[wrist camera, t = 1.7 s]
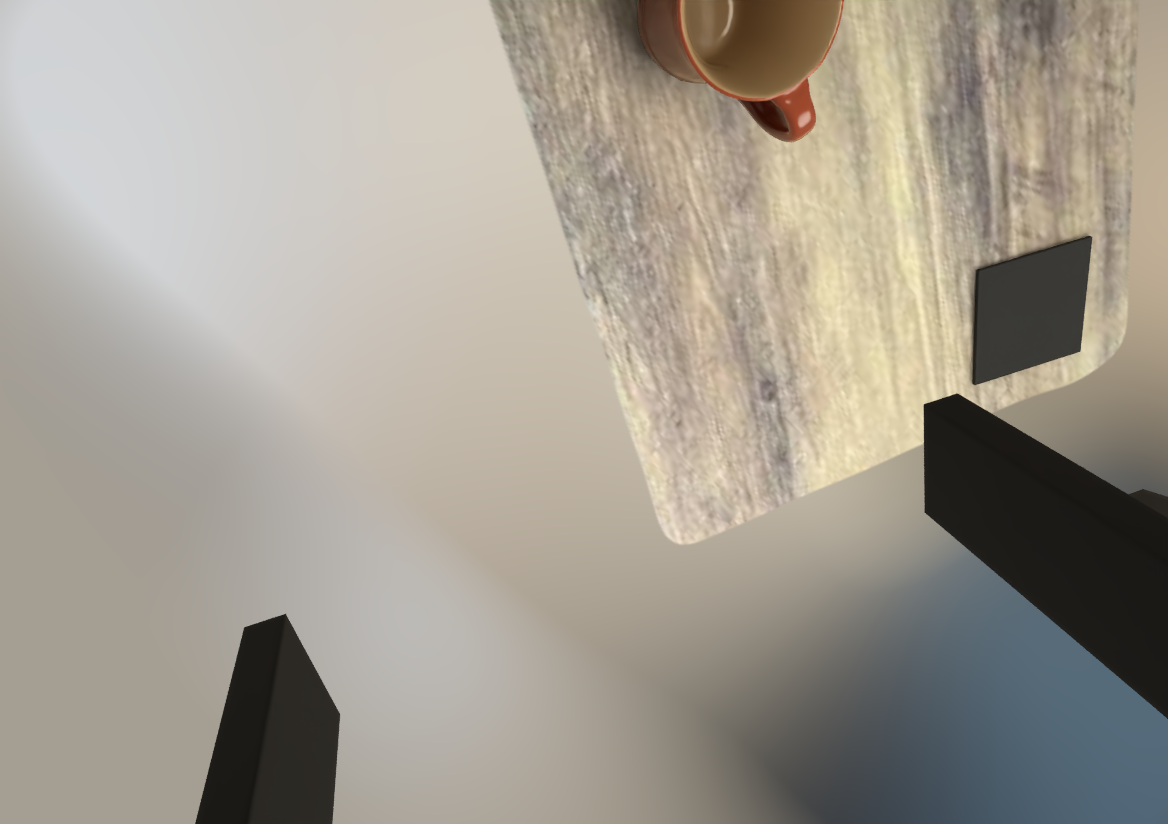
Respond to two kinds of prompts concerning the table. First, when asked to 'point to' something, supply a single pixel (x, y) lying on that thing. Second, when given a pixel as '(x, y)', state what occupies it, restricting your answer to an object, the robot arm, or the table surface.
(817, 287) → the table surface
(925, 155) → the table surface
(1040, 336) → the mat
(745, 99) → the mug
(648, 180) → the table surface
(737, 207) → the table surface
